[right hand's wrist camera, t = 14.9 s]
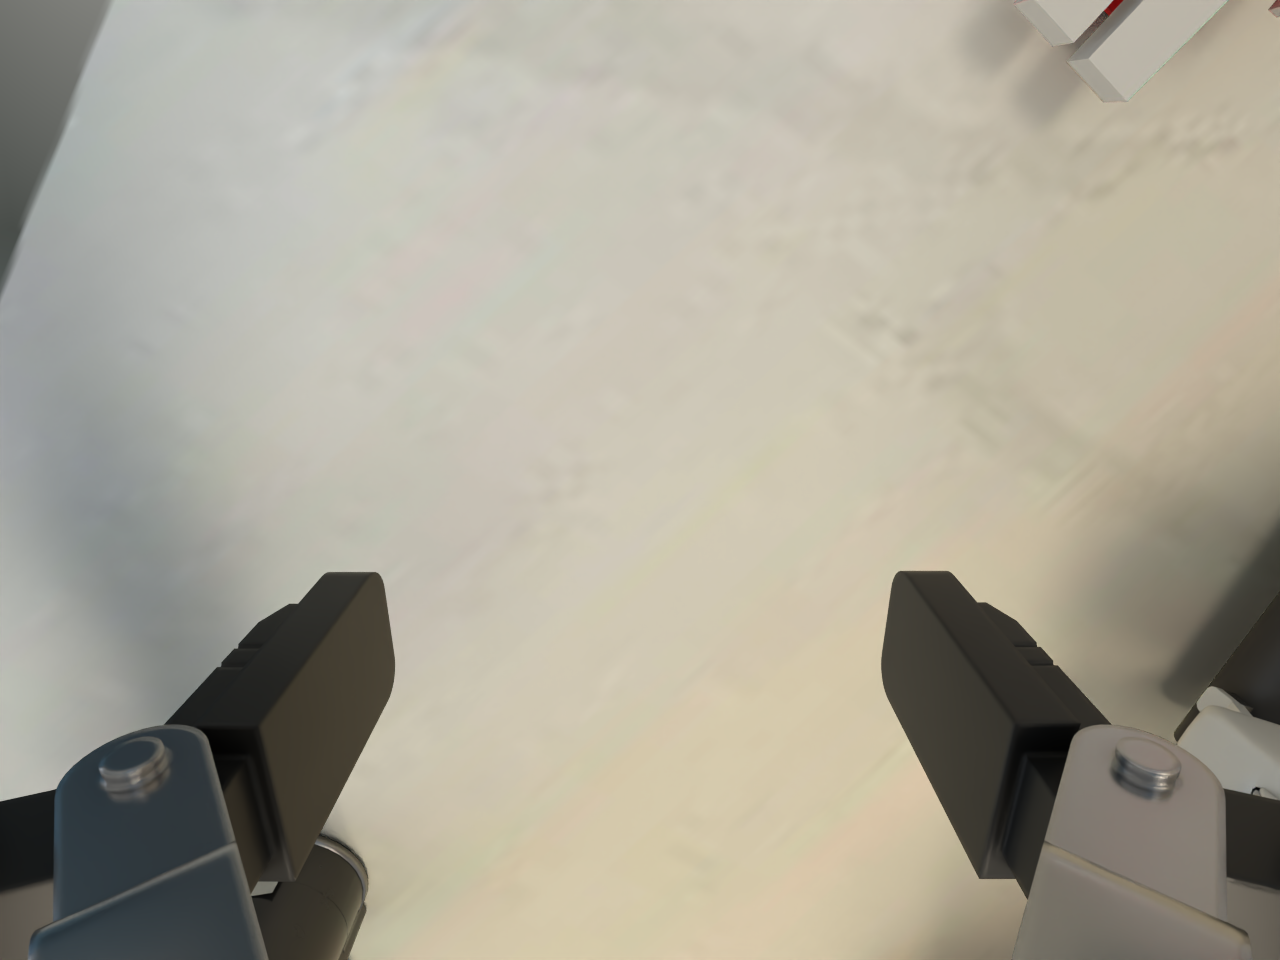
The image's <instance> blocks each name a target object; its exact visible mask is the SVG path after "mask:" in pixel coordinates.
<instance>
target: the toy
mask: <svg viewBox="0 0 1280 960" xmlns="http://www.w3.org/2000/svg"><path fill="white" fill-rule="evenodd" d="M1227 1H1228V0H1016V2H1015V3H1014V6H1015V7H1016V8H1017V9H1018V10H1019V11H1020V12H1021V13H1022V14H1023V15H1024V16H1025V18H1026V19H1027V20H1028V21H1029V22H1030V23H1031V24H1032V25H1033V26H1034V27H1035V28H1036V30H1037V31H1038V32H1039V33H1040V34H1041V35H1042V36H1043V37H1044V38H1045V39H1046V40H1047V42H1048V43H1049V44H1050V45H1051V46H1052V47H1054V46H1059V45H1064V44H1070V43H1074V42H1075V41H1076V40H1077V39H1078V38H1079V37H1080V36H1081V35H1082V33H1083V32H1084V31H1085V30H1086V29H1087V28H1088V27H1089V26H1090V25H1091V24H1092V23H1093V22H1094V21H1095V19H1096V18H1097V17H1098V16H1099V15H1100V14H1101V13H1102V12H1103V11H1105V12H1106V13H1107V14H1108V18H1107V19H1106V20H1105V21H1104V22H1103V23H1102V24H1101V25H1100V26H1099V27H1098V28H1097V29H1096V30H1095V31H1094V32H1093V34H1092V35H1091V36H1090V37H1089V38H1088V39H1087V40H1086V41H1085V42H1084V43H1083V44H1082V45H1081V46H1080V47H1079V49H1078V50H1077V51H1076V52H1075V53H1074V54H1073V55H1072V56H1071V57H1070V58H1069V59H1068V60H1067V61H1066V62H1067V63H1068V64H1069V66H1070V67H1071V68H1072V69H1073V70H1074V71H1075V72H1076V73H1077V74H1078V75H1079V76H1080V78H1081V79H1082V80H1083V81H1084V82H1085V83H1086V84H1087V85H1088V86H1089V87H1090V88H1091V90H1092V91H1093V92H1094V93H1095V94H1096V95H1097V96H1098V97H1099V98H1100V99H1101V100H1102V102H1128V101H1129V100H1130V99H1131V98H1132V97H1133V96H1134V95H1135V94H1136V93H1137V92H1138V91H1139V90H1140V89H1141V88H1142V87H1143V86H1144V85H1145V84H1146V83H1147V82H1148V81H1149V80H1150V79H1151V78H1152V77H1153V76H1154V75H1155V74H1156V73H1157V72H1158V71H1159V70H1160V69H1161V68H1162V67H1163V66H1164V65H1165V64H1166V63H1167V62H1168V61H1169V60H1170V59H1171V58H1172V57H1173V56H1174V55H1175V54H1176V53H1177V52H1178V51H1179V50H1180V49H1181V48H1182V47H1183V46H1184V45H1185V44H1186V43H1187V42H1188V41H1189V40H1190V39H1191V38H1192V37H1193V36H1194V35H1195V33H1196V32H1197V31H1198V30H1199V29H1200V28H1201V27H1202V26H1203V25H1204V24H1205V23H1206V22H1207V21H1208V20H1209V19H1210V18H1211V17H1212V16H1213V15H1214V14H1215V13H1216V12H1217V11H1218V10H1219V9H1220V8H1221V7H1222V6H1223V5H1224V4H1225V3H1226V2H1227ZM1269 11H1270V12H1271V13H1272V14H1274V15H1275V16H1276V17H1280V0H1276V1H1275V3H1274V4H1273V5H1272V6H1271V7H1270V8H1269Z"/></svg>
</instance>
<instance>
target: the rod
mask: <svg viewBox="0 0 1280 960" xmlns="http://www.w3.org/2000/svg"><path fill="white" fill-rule="evenodd" d="M1211 686H1213V687H1217V688H1220V689H1223V690H1226V691H1229V692H1232V693H1235V694H1237V695H1238V696H1239V697H1240V698H1241V699H1242V700H1244V701H1245V702H1247V703H1248V704H1249V705H1250V706H1252V707H1253V708H1254V709H1253V710H1252V712H1251V713H1250V714H1251V715H1252V716H1253V717H1256V718H1259V719H1262V720H1265V721H1269V722H1272V723H1275V724H1278V725H1280V592H1279V593H1278V595H1277V596H1276V597H1275V599H1274V600H1273V601H1272V603H1271V604H1270V605H1269V607H1268V608H1267V609H1266V611H1265V612H1264V613H1263V615H1262V616H1261V617H1260V619H1259V620H1258V621H1257V623H1256V624H1255V625H1254V627H1253V628H1252V629H1251V631H1250V632H1249V633H1248V635H1247V636H1246V637H1245V639H1244V640H1243V641H1242V643H1241V644H1240V645H1239V647H1238V648H1237V649H1236V651H1235V652H1234V653H1233V655H1232V656H1231V657H1230V659H1229V660H1228V661H1227V663H1226V664H1225V665H1224V667H1223V668H1222V669H1221V671H1220V672H1219V673H1218V675H1217V676H1216V677H1215V679H1214V680H1213V681H1212V682H1211V684H1210V685H1209V686H1208V687H1211ZM1199 713H1200V711H1199V710H1198V708H1197V702H1196V704H1195V705H1194V706H1193V708H1192V709H1191V710H1190V712H1189V713H1188V714H1187V716H1186V717H1185V718H1184V720H1183V721H1182V722H1181V724H1180V725H1179V726H1178V728H1177V729H1176V730H1175V732H1174V737H1175V739H1176V741H1177V742H1178V741H1179V739H1180V738H1181V736H1182V735H1183V733H1184V732H1185V730H1186V729H1187V728H1188V726H1189V725H1190V724H1191V723H1192V721H1193V720H1194V719H1195V718H1196V716H1197V715H1198V714H1199Z"/></svg>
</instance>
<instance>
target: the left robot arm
mask: <svg viewBox="0 0 1280 960" xmlns="http://www.w3.org/2000/svg"><path fill="white" fill-rule="evenodd" d="M1197 708H1198V710H1199V711H1200V713H1199V714H1198V715H1197V716H1196V718H1195V719H1194V720H1193V721H1192V723H1191V724H1190V725H1189V726H1188V728H1187V729H1186V730H1185V732H1184V733H1183V735H1182V736H1181V738H1180V739H1179V741H1178V742H1177V744H1176V745H1177V746H1179V747H1181V748H1183V749H1184V750H1186V751H1188V752H1189V753H1191V754H1192V755H1193V756H1195V757H1196V758H1198V759H1199V760H1200V761H1201V762H1202V763H1204V764H1205V765H1206V766H1207V767H1208V768H1209V769H1210V770H1211V771H1212V772H1213V773H1214V774H1215V776H1216V777H1217V778H1218V780H1219V781H1220V783H1221V785H1222V787H1223V788H1225V789H1229V790H1234V791H1238V792H1243V793H1248V794H1252V795H1257V796H1262V797H1266V798H1271V799H1275V800H1280V725H1278V724H1275V723H1272V722H1269V721H1265V720H1262V719H1259V718H1256V717H1253V716H1252V715H1251V714H1250V713H1251V712H1252V710H1253V709H1254V708H1253V707H1252V706H1250V705H1249V704H1248V703H1247V702H1245V701H1244V700H1242V699H1241V698H1240V697H1239V696H1238V695H1237V694H1235V693H1232V692H1229V691H1226V690H1223V689H1220V688H1217V687H1213V686H1211V687H1208V688H1207V689H1206V690H1205V692H1204V693H1203V694H1202V696H1201V697H1200V698H1199V699H1198V701H1197Z"/></svg>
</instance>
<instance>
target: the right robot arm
mask: <svg viewBox="0 0 1280 960" xmlns="http://www.w3.org/2000/svg"><path fill="white" fill-rule="evenodd" d="M238 645H239V646H238V649H234V650H233V651H232V652H231V653H230V654H229V655H228V656H227V657H226V658H225V659H224V660H223V661H222V665H221V667H217V668H216V669H215V670H214V671H213V672H212V673H211V674H210V676H209V677H208V678H207V679H206V680H205V681H204V682H203V683H202V684H201V685H200V686H199V687H198V689H197V690H196V691H195V692H194V693H193V694H192V695H191V696H190V697H189V698H188V699H187V700H186V702H185V703H184V704H183V705H182V706H181V707H180V708H179V709H178V710H177V711H176V712H175V713H174V715H173V716H172V717H171V718H170V719H169V720H168V721H167V722H166V723H165V724H164V725H162V726H155V727H150V728H146V729H142V730H138V731H135V732H132V733H129V734H126V735H124V736H121V737H119V738H117V739H114V740H112V741H110V742H108V743H106V744H104V745H103V746H101V747H99V748H97V749H96V750H94V751H92V752H91V753H89V754H88V755H87V756H85V757H84V758H82V759H81V760H80V761H79V762H78V763H76V764H75V765H74V766H73V767H72V768H71V769H70V770H69V771H68V772H67V773H66V774H65V776H64V777H63V778H62V780H61V781H60V783H59V785H58V787H57V789H55V790H51V791H47V792H42V793H37V794H33V795H28V796H24V797H19V798H14V799H10V800H5V801H1V802H0V960H347V959H348V957H349V954H350V952H351V949H352V946H353V944H354V941H355V939H356V936H357V934H358V931H359V928H360V926H361V923H362V921H363V918H364V916H365V913H366V908H365V906H364V904H363V902H364V900H365V897H366V895H367V891H368V879H367V875H366V872H365V869H364V867H363V866H362V864H361V863H360V861H359V860H358V859H357V858H356V857H355V855H354V854H352V853H351V852H350V851H349V850H348V849H346V848H345V847H343V846H342V845H340V844H338V843H337V842H335V841H333V840H330V839H328V838H325V837H322V836H319V834H320V832H321V830H322V828H323V826H324V824H325V822H326V820H327V818H328V817H329V815H330V813H331V811H332V809H333V807H334V805H335V803H336V801H337V799H338V797H339V795H340V793H341V791H342V789H343V787H344V785H345V783H346V781H347V780H348V778H349V776H350V774H351V772H352V770H353V768H354V766H355V764H356V762H357V760H358V758H359V756H360V754H361V752H362V750H363V748H364V746H365V744H366V742H367V741H368V739H369V737H370V735H371V733H372V731H373V729H374V727H375V725H376V723H377V721H378V719H379V717H380V715H381V713H382V711H383V709H384V707H385V705H386V704H387V702H388V699H389V697H390V694H391V691H392V688H393V683H394V675H395V657H394V649H393V643H392V636H391V629H390V622H389V615H388V608H387V601H386V595H385V588H384V583H383V580H382V578H381V576H380V575H379V574H378V573H376V572H327V573H325V574H324V575H323V576H322V577H321V578H320V579H319V580H318V582H317V583H316V584H315V585H314V586H313V587H312V589H311V590H310V591H309V592H308V593H307V594H306V595H305V597H304V598H303V599H302V600H301V601H300V602H299V604H288V605H287V606H285V607H283V608H282V609H280V610H278V611H277V612H275V613H273V614H272V615H270V616H268V617H267V618H265V619H263V620H262V621H260V622H258V624H257V625H256V626H255V627H254V628H253V629H252V630H251V631H250V632H249V633H248V634H247V635H246V637H245V638H244V639H243V640H242V641H241V642H240V643H239V644H238ZM881 670H882V679H883V685H884V689H885V692H886V695H887V698H888V700H889V702H890V704H891V706H892V708H893V710H894V712H895V714H896V716H897V717H898V719H899V721H900V723H901V725H902V727H903V729H904V731H905V733H906V735H907V737H908V739H909V741H910V743H911V745H912V747H913V749H914V751H915V753H916V755H917V757H918V759H919V761H920V763H921V765H922V767H923V769H924V771H925V773H926V775H927V777H928V779H929V781H930V783H931V785H932V787H933V788H934V790H935V792H936V794H937V796H938V798H939V800H940V802H941V804H942V806H943V808H944V810H945V812H946V814H947V816H948V818H949V820H950V822H951V824H952V826H953V828H954V830H955V832H956V834H957V836H958V838H959V840H960V842H961V844H962V846H963V848H964V850H965V852H966V854H967V856H968V858H969V860H970V861H971V863H972V865H973V867H974V869H975V871H976V873H977V875H978V877H979V879H1016V880H1017V882H1018V884H1019V885H1020V887H1021V889H1022V891H1023V892H1024V894H1025V896H1026V898H1027V900H1028V901H1027V904H1026V908H1025V912H1024V915H1023V919H1022V923H1021V926H1020V930H1019V934H1018V937H1017V941H1016V945H1015V948H1014V952H1013V955H1012V959H1011V960H1280V800H1275V799H1271V798H1266V797H1262V796H1257V795H1252V794H1248V793H1243V792H1238V791H1234V790H1229V789H1225V788H1223V787H1222V785H1221V783H1220V781H1219V780H1218V778H1217V777H1216V776H1215V774H1214V773H1213V772H1212V771H1211V770H1210V769H1209V768H1208V767H1207V766H1206V765H1205V764H1204V763H1202V762H1201V761H1200V760H1199V759H1198V758H1196V757H1195V756H1193V755H1192V754H1191V753H1189V752H1188V751H1186V750H1184V749H1183V748H1181V747H1179V746H1177V745H1176V744H1174V743H1172V742H1170V741H1168V740H1166V739H1163V738H1161V737H1159V736H1156V735H1154V734H1151V733H1148V732H1145V731H1142V730H1138V729H1134V728H1130V727H1125V726H1118V725H1111V723H1110V722H1109V721H1108V720H1107V719H1106V718H1105V717H1104V716H1103V715H1102V714H1101V713H1100V711H1099V710H1098V709H1097V708H1096V707H1095V706H1094V705H1093V704H1092V703H1091V702H1090V701H1089V699H1088V698H1087V697H1086V696H1085V695H1084V694H1083V693H1082V692H1081V691H1080V690H1079V689H1078V687H1077V686H1076V685H1075V684H1074V683H1073V682H1072V681H1071V680H1070V679H1069V678H1068V676H1067V675H1066V674H1065V673H1064V672H1063V671H1062V670H1061V669H1060V668H1059V667H1058V666H1054V665H1053V660H1052V659H1051V658H1050V657H1049V656H1048V655H1047V654H1046V652H1045V651H1044V650H1043V649H1042V648H1041V647H1037V645H1036V642H1035V640H1034V639H1033V638H1032V637H1031V636H1030V635H1029V634H1028V633H1027V632H1026V631H1025V630H1024V628H1023V627H1022V626H1021V625H1020V624H1019V623H1018V622H1017V621H1016V620H1014V619H1013V618H1011V617H1009V616H1008V615H1006V614H1004V613H1003V612H1001V611H999V610H998V609H996V608H994V607H993V606H991V605H989V604H988V603H977V602H976V601H975V599H974V598H973V597H972V596H971V595H970V594H969V592H968V591H967V590H966V589H965V588H964V587H963V585H962V584H961V583H960V582H959V581H958V580H957V578H956V577H955V576H954V575H953V574H952V573H951V572H949V571H899V572H898V573H897V574H896V575H895V577H894V579H893V583H892V588H891V594H890V601H889V608H888V615H887V622H886V629H885V636H884V643H883V650H882V658H881Z"/></svg>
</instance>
